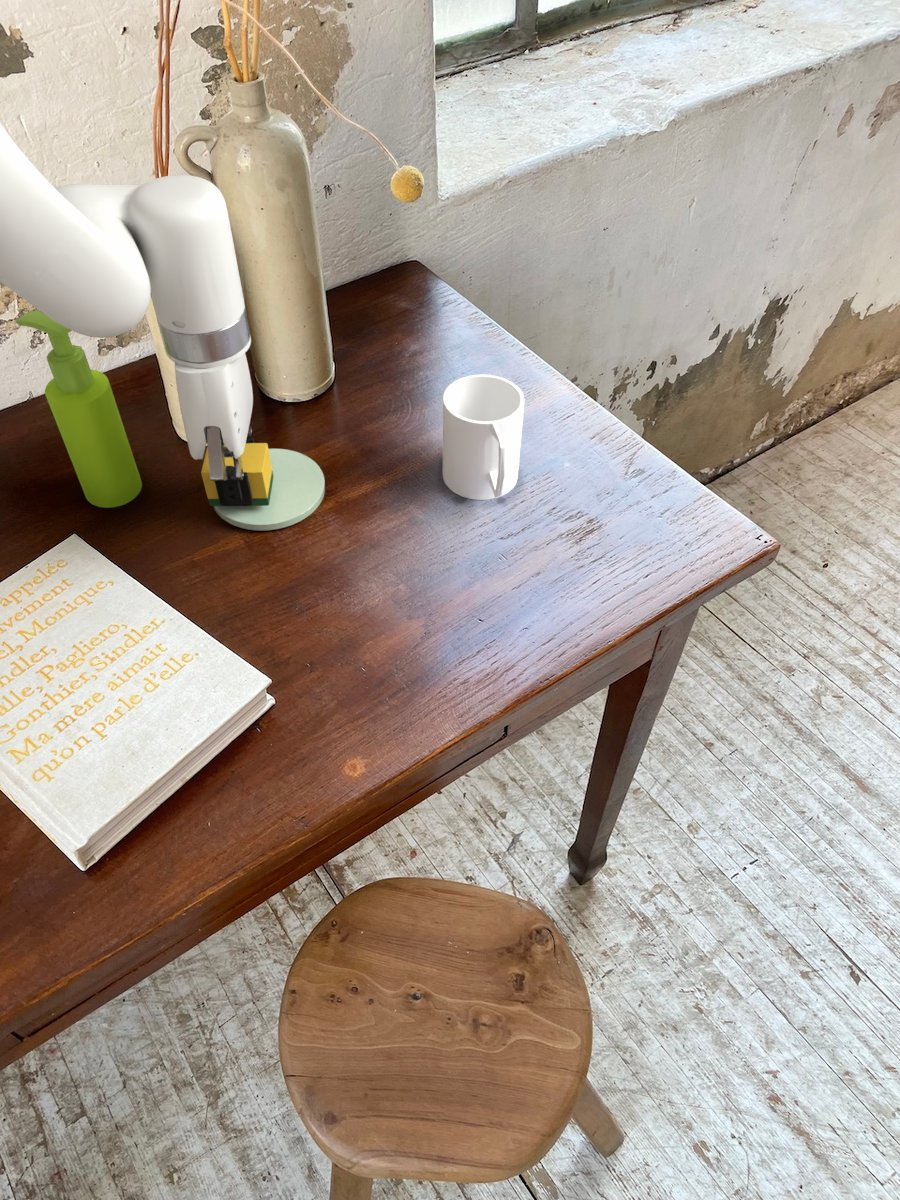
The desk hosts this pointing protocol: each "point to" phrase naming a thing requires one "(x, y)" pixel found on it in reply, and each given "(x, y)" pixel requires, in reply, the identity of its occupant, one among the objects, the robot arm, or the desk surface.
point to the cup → (482, 436)
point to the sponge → (257, 471)
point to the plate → (282, 494)
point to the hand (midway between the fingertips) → (240, 485)
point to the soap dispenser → (87, 419)
